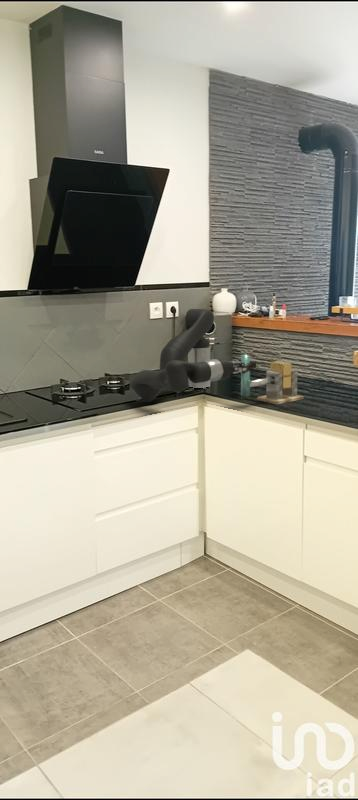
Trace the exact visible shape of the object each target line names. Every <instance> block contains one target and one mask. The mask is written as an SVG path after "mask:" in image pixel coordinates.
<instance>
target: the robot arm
mask: <svg viewBox="0 0 358 800" xmlns="http://www.w3.org/2000/svg"><path fill="white" fill-rule="evenodd" d="M184 317H185V318H184V327H185V330H184V331H182V332H181V333H178V334H177V335H175V336H173V337H172V338H171V339H170V340H169V341H168V342H167V343H166V344H165V346H164V347H163V348H162V349H161V352H160V357H159V370H151V369H150V370H149V369H142V370H140V371H139V372H137V373H136V374H135V375H134V376H133V378H132V379H131V381H130V383H129V385H130V388H131V389H132V390H133V391H134V392H135V393H136V395H138V397H140V399H142V400H143V401H144V402H145V403H150V402H152V401H153V400H155V399H156V398H157V397H158V396H159V394H160V393H161V391H162V390H163V391H165V390H168V391H171V392H176V393H179V392H184V391H186V390H187V389H188V388H189V387H193V388H192V389H194V388H203V389H207V388H206V387H209V388H211V382H216V381H222V380H228V379H229V378H230V377H231V375H232V374H238V373H241V372H242V373H246V372H248V371H250V372H251V371H252V369H256V368H257V362H256V361H250V362H249V363H248V362H247V363H243V362H241V360H229V359H228V358H227V357H220V358H212V359H211V357H210V355H211V354H210V352H211V350H210V349H211V348H210V346H211V345H210V342H211V341H210V340H209V339H207V338H205V337H204V336H205V335H206V334H207V333H208V332H209V331H211V328H212V327H213V325H214V321H215V317H214V313H213V311H211V310H210V309H206V308H205V309H204V308H190V309H188V310H187V311H186V313H185V316H184ZM186 357H187V358H188V359H187V360H188V361H185V359H186Z"/></svg>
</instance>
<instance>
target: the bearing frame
mask: <svg viewBox="0 0 358 800" xmlns="http://www.w3.org/2000/svg"><path fill="white" fill-rule="evenodd" d="M270 377H275V383H272V384H267V385H265V387H266V390H265V391H266V393H265V394H266V395H262V396H257V397H256V400H257V401H260V402H261V401H262V402H264V403H270V404H274V405H281V404H286V403H292V402H295V401H296V402H297V401H300V400H304V395H299V394H298V370H297V369H292V368H291V387H289V388H284V389H282V373H281V372H276V371H271V370H267V371H266V376H265V378H270Z"/></svg>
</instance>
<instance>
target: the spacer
mask: <svg viewBox="0 0 358 800" xmlns="http://www.w3.org/2000/svg"><path fill="white" fill-rule="evenodd" d="M291 369H292V362H286V361H280V360H276V361H270V371H276V372H281V373H282V389H284V388H289V387H291Z"/></svg>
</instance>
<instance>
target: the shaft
mask: <svg viewBox="0 0 358 800" xmlns="http://www.w3.org/2000/svg"><path fill="white" fill-rule="evenodd" d="M240 361H241V362H243V363H247V362H248V363H249V362H251V355H250V354H241V355H240ZM272 383H275V377H270V378H266V377H265V378H258V379H253V380H251V371H248V372H246V373H242V372H240V396H241V397H250V396H251V393H250V392H251V388H254V387H261V386H266V385H267V384H272Z"/></svg>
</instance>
